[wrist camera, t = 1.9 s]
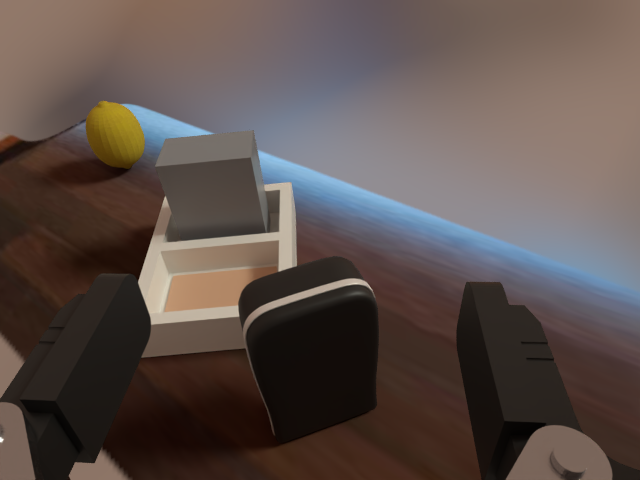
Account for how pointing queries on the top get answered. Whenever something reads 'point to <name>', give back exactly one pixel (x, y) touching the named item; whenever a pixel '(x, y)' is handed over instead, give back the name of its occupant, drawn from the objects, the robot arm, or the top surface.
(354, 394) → the battery charger
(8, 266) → the top surface
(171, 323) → the dock
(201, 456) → the top surface
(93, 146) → the lemon
